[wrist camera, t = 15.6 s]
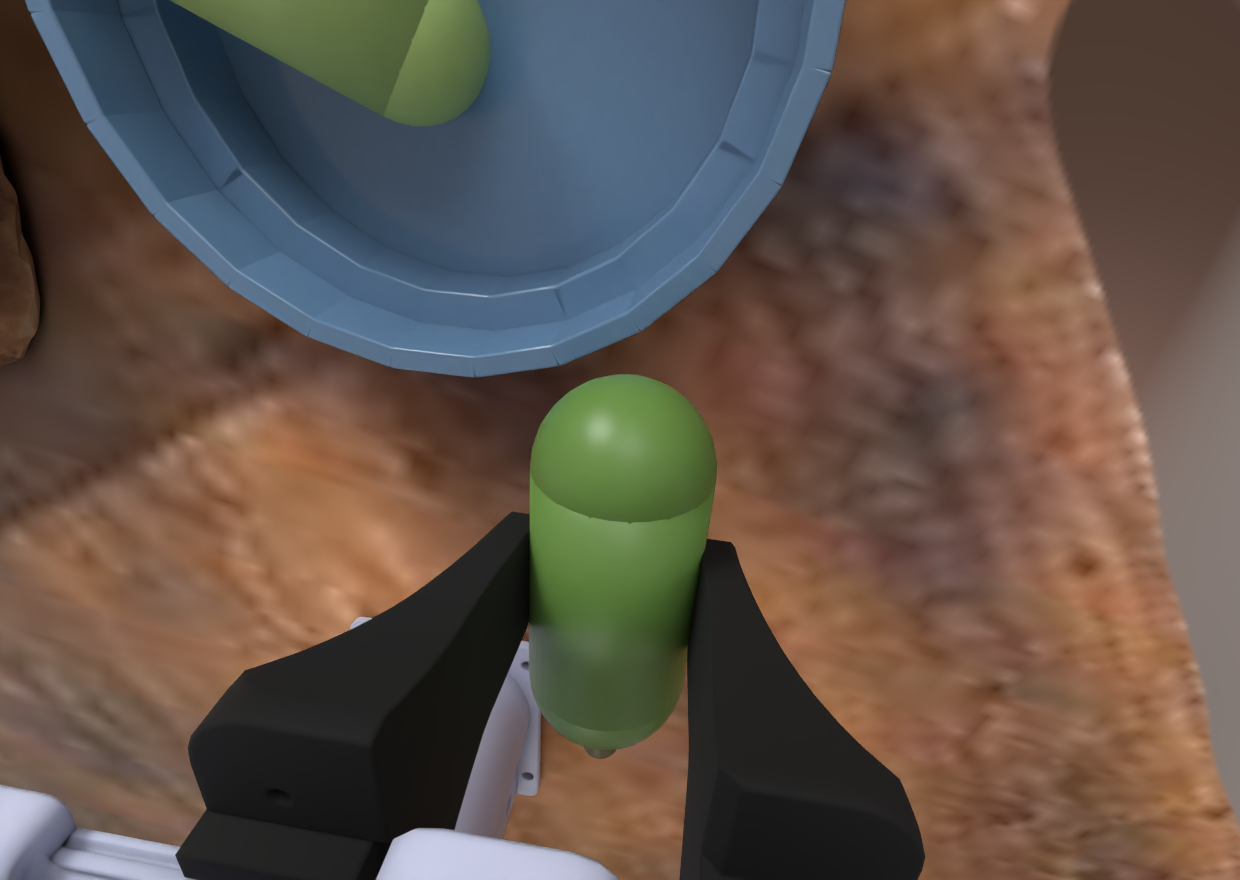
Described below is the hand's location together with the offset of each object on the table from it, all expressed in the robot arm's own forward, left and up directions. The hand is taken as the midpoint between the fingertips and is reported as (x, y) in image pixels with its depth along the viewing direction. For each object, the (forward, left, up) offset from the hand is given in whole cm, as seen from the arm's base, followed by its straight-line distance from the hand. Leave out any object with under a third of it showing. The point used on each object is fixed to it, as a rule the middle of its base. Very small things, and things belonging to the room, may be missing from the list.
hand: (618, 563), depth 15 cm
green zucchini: (0, 0, -1) cm, 1 cm away
